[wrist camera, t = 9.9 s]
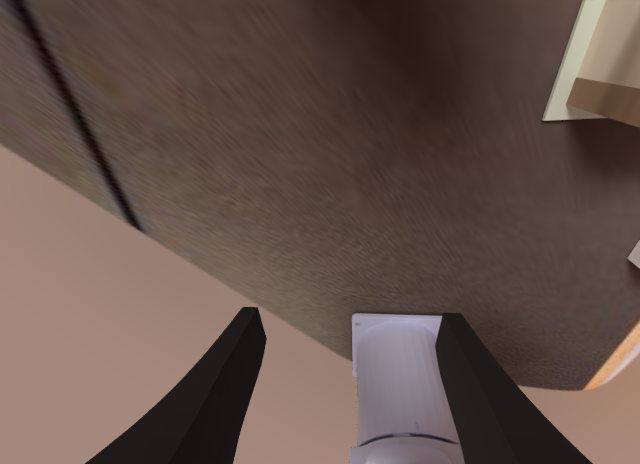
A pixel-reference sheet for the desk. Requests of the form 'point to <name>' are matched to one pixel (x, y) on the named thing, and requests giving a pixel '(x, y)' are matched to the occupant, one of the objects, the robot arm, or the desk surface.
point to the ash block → (612, 65)
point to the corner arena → (569, 72)
